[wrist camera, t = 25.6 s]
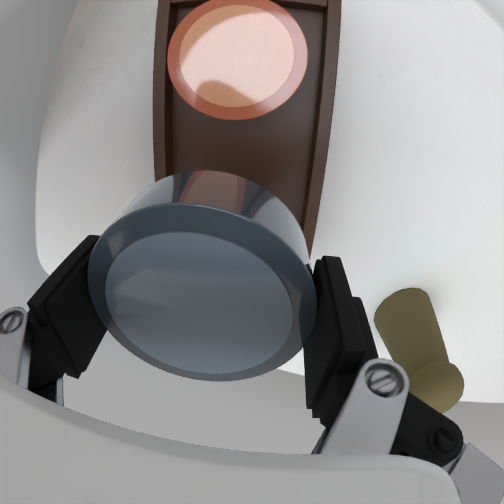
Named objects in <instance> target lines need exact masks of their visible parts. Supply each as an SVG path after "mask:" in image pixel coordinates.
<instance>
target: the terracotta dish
mask: <svg viewBox="0 0 504 504" xmlns="http://www.w3.org/2000/svg"><path fill="white" fill-rule="evenodd" d="M167 65H168V71H169V75H170V78H171V81H172V83H173V85H174V87H175V89H176V90H177V92H178V93H179V95H180V96H181V97H182V98H183V99H184V100H185V101H186V102H187V103H188V104H189V105H190V106H192V107H193V108H195V109H196V110H198V111H200V112H202V113H204V114H206V115H209V116H211V117H214V118H219V119H224V120H246V119H252V118H256V117H260V116H263V115H265V114H268V113H270V112H272V111H274V110H276V109H277V108H279V107H280V106H282V105H283V104H284V103H285V102H287V101H288V100H289V99H290V98H291V97H292V96H293V95H294V93H295V92H296V91H297V89H298V88H299V86H300V85H301V83H302V81H303V79H304V77H305V74H306V70H307V66H308V45H307V41H306V38H305V35H304V33H303V31H302V29H301V27H300V25H299V24H298V22H297V21H296V20H295V19H294V18H293V16H292V15H291V14H290V13H289V12H287V11H286V10H285V9H284V8H282V7H281V6H279V5H277V4H276V3H274V2H272V1H269V0H210V1H208V2H206V3H204V4H202V5H200V6H198V7H197V8H195V9H194V10H193V11H191V12H190V13H189V14H188V15H187V16H186V17H185V18H184V19H183V20H182V21H181V23H180V24H179V25H178V27H177V28H176V30H175V32H174V33H173V36H172V38H171V40H170V44H169V48H168V54H167Z"/></svg>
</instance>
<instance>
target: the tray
mask: <svg viewBox="0 0 504 504" xmlns="http://www.w3.org/2000/svg"><path fill="white" fill-rule="evenodd" d="M208 1H210V0H158V10H157V20H156V33H155V48H154V70H153V147H154V170H155V182H157V181H159V180H161V179H163V178H166V177H168V176H171V175H174V174H177V173H183V172H188V171H201V170H208V171H219V172H225V173H229V174H233V175H237V176H240V177H242V178H245V179H248V180H250V181H252V182H254V183H256V184H258V185H260V186H262V187H263V188H265V189H266V190H268V191H269V192H270V193H272V194H273V195H275V196H276V197H277V198H278V199H279V200H280V201H281V202H282V203H283V204H284V205H285V206H286V207H287V208H288V209H289V211H290V212H291V213H292V215H293V216H294V217H295V219H296V221H297V222H298V224H299V226H300V228H301V230H302V233H303V235H304V238H305V242H306V246H307V251H308V255H309V260H310V255H311V250H312V245H313V240H314V234H315V229H316V223H317V217H318V212H319V206H320V200H321V193H322V187H323V181H324V174H325V167H326V160H327V153H328V146H329V139H330V131H331V123H332V114H333V105H334V96H335V86H336V76H337V65H338V52H339V39H340V22H341V0H269V1H272V2H274V3H276V4H277V5H279V6H281V7H282V8H284V9H285V10H286V11H287V12H289V13H290V14H291V15H292V16H293V18H294V19H295V20H296V21H297V22H298V24H299V25H300V27H301V29H302V31H303V33H304V35H305V38H306V41H307V45H308V66H307V70H306V74H305V77H304V79H303V81H302V83H301V85H300V86H299V88H298V89H297V91H296V92H295V93H294V95H293V96H292V97H291V98H290V99H289V100H288V101H287V102H285V103H284V104H283V105H282V106H280V107H279V108H277V109H276V110H274V111H272V112H270V113H268V114H265V115H263V116H260V117H256V118H252V119H246V120H224V119H219V118H214V117H211V116H209V115H206V114H204V113H202V112H200V111H198V110H196V109H195V108H193V107H192V106H190V105H189V104H188V103H187V102H186V101H185V100H184V99H183V98H182V97H181V96H180V95H179V93H178V92H177V90H176V89H175V87H174V85H173V83H172V81H171V78H170V75H169V71H168V65H167V54H168V48H169V44H170V40H171V38H172V36H173V33H174V32H175V30H176V28H177V27H178V25H179V24H180V23H181V21H182V20H183V19H184V18H185V17H186V16H187V15H188V14H189V13H190V12H191V11H193V10H194V9H195V8H197V7H198V6H200V5H202V4H204V3H206V2H208Z"/></svg>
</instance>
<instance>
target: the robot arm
mask: <svg viewBox="0 0 504 504" xmlns="http://www.w3.org/2000/svg"><path fill="white" fill-rule="evenodd" d="M99 238H100V236H98V235H89V236H87V237H86V238H85V239H84V240H83V241H82V242H81V243H80V244H79V245H78V246H77V247H76V248H75V249H74V250H73V252H72V253H71V254H70V255H69V256H68V257H67V258H66V259H65V260H64V261H63V262H62V263H61V264H60V265H59V266H58V267H57V269H56V270H55V271H54V272H53V273H52V274H51V275H50V276H49V277H48V279H47V280H46V281H45V282H44V283H43V284H42V286H41V287H40V288H39V289H38V290H37V291H36V293H35V294H34V295H33V296H32V297H31V299H30V300H29V301H28V302H27V304H28V306H29V309H30V310H29V312H28V313H27V312H26V310H25V309H24V308H22V307H13V308H9V309H7V310H5V311H4V312H3V313H2V314H0V504H500V502H501V500H502V498H503V496H504V470H503V469H502V468H501V467H500V466H499V465H497V464H496V463H495V462H494V461H492V460H491V459H490V458H488V457H487V456H486V455H484V454H483V453H482V452H481V451H479V450H478V449H477V448H476V447H475V446H473V445H472V444H471V443H468V444H464V443H463V435H462V431H461V430H460V428H459V427H458V425H456V424H455V423H454V422H453V421H452V420H450V419H449V418H447V417H446V416H444V415H442V414H441V413H440V412H438V411H437V410H435V409H434V408H432V407H431V406H429V405H428V404H426V403H425V402H423V401H422V400H420V399H419V398H417V397H416V396H414V395H413V394H411V393H410V392H409V391H408V390H409V379H408V376H407V374H406V372H405V371H404V369H403V368H402V367H401V366H400V365H399V364H397V363H395V362H393V361H392V360H388V359H384V358H379V357H378V354H377V350H376V346H375V343H374V339H373V336H372V332H371V329H370V326H369V322H368V319H367V316H366V312H365V309H364V306H363V303H362V300H361V298H359V297H352V294H351V290H350V287H349V284H348V280H347V277H346V274H345V271H344V268H343V265H342V261H341V259H340V257H333V256H323V257H322V260H318V259H317V260H316V263H315V267H314V272H313V279H314V284H315V289H316V294H317V299H318V312H317V317H316V320H315V324H314V327H313V331H312V334H311V336H310V337H309V339H308V341H307V342H306V344H305V345H304V346H303V350H304V368H305V387H306V406H307V409H312V415H313V416H312V417H313V418H320V422H321V424H322V425H324V426H325V427H326V428H325V429H324V431H323V433H322V435H321V437H320V439H319V440H318V442H317V444H316V446H315V448H314V450H313V451H312V453H311V454H278V453H261V452H247V451H238V450H229V449H221V448H213V447H207V446H200V445H195V444H189V443H184V442H179V441H174V440H169V439H164V438H161V437H156V436H152V435H148V434H144V433H140V432H136V431H133V430H129V429H126V428H123V427H119V426H116V425H113V424H109V423H107V422H104V421H100V420H98V419H95V418H92V417H89V416H87V415H84V414H81V413H79V412H76V411H73V410H71V409H69V408H66V407H64V403H63V402H64V401H63V375H64V373H66V374H67V375H68V376H71V377H74V378H77V379H78V378H79V377H80V375H81V372H84V371H85V370H86V369H87V367H88V365H89V363H90V361H91V359H92V357H93V355H94V353H95V352H96V350H97V348H98V346H99V344H100V342H101V340H102V338H103V337H104V335H105V333H106V331H107V329H106V327H105V326H104V325H103V323H102V322H101V320H100V318H99V317H98V315H97V313H96V311H95V309H94V306H93V304H92V301H91V298H90V295H89V290H88V283H87V270H88V264H89V259H90V256H91V253H92V250H93V248H94V246H95V244H96V243H97V241H98V239H99Z"/></svg>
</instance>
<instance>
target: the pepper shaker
mask: <svg viewBox="0 0 504 504" xmlns="http://www.w3.org/2000/svg"><path fill="white" fill-rule="evenodd" d="M374 323H375V326H376V328H377V330H378V332H379V334H380V336H381V338H382V340H383V342H384V344H385V346H386V348H387V350H388V352H389V354H390V356H391V358H392V360H393V362H395V363H397V364H399V365H400V366H401V367H402V368H403V369H404V371H405V372H406V374H407V376H408V379H409V390H408V391H409V392H410V393H411V394H413V395H414V396H416V397H417V398H419V399H420V400H422V401H423V402H425V403H426V404H428V405H429V406H431V407H432V408H434V409H435V410H437V411H438V412H440V413H441V414H442V413H444V412H446V411H447V410H449V409H450V408H452V407H453V406H454V405H455V404H456V403H457V402H458V401H459V399H460V398H461V396H462V394H463V389H464V379H463V377H462V374H461V372H460V371H459V369H458V368H457V367H456V366H455V365H454V364H451V363H449V359H448V355H447V352H446V348H445V344H444V341H443V338H442V334H441V331H440V328H439V325H438V322H437V318H436V315H435V312H434V310H433V307H432V304H431V301H430V298H429V296H428V295H427V293H426V292H424V291H423V290H421V289H416V288H409V289H403V290H401V291H398V292H396V293H394V294H392V295H391V296H389V297H388V298H387V299H385V300H384V301H383V302H382V304H381V305H380V306H379V307H378V309H377V311H376V313H375V317H374Z"/></svg>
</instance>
